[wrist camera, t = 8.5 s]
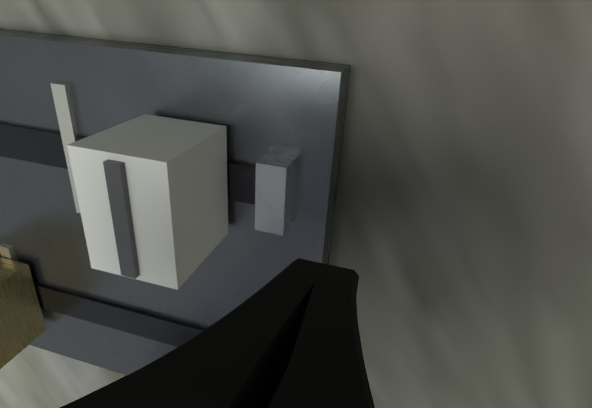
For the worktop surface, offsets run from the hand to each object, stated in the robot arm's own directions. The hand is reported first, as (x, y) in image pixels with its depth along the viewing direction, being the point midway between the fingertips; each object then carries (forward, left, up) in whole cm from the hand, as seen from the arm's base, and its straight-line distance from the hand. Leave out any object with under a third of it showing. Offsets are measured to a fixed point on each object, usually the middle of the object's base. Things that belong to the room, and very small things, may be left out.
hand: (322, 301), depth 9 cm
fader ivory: (0, +6, -5) cm, 8 cm away
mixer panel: (-4, +11, -7) cm, 14 cm away
